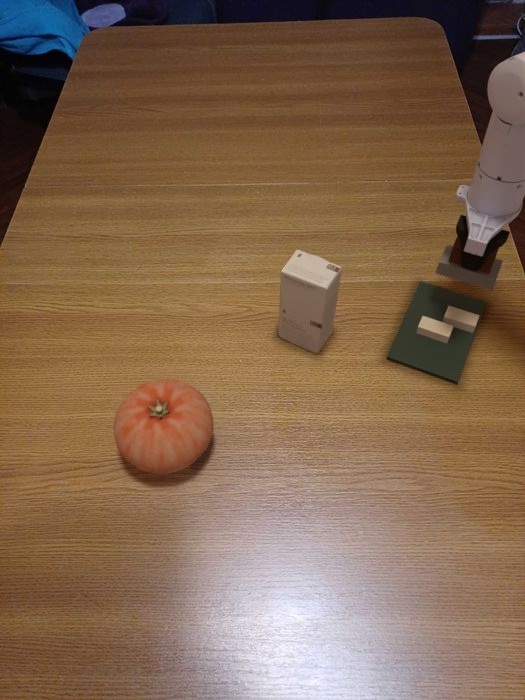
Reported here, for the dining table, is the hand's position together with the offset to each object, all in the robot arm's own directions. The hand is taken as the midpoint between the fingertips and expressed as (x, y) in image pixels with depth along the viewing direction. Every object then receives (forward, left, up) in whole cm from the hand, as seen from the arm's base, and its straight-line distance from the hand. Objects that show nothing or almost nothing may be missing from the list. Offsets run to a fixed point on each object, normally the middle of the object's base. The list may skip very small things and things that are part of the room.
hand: (472, 258), depth 75 cm
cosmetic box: (+16, +13, -9) cm, 22 cm away
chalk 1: (+1, +6, -8) cm, 10 cm away
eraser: (0, 0, -2) cm, 2 cm away
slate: (+1, +5, -8) cm, 10 cm away
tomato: (+24, +34, -9) cm, 42 cm away
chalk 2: (-1, +3, -8) cm, 9 cm away
